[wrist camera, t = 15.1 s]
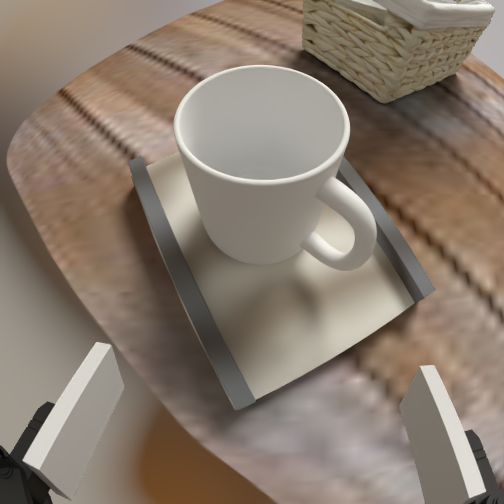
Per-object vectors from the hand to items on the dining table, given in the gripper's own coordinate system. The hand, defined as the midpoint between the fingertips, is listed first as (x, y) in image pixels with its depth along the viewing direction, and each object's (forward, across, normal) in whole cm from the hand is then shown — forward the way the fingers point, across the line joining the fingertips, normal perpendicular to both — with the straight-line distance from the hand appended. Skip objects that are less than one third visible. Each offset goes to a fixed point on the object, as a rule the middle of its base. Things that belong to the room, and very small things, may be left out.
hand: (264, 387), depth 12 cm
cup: (+13, 0, -2) cm, 13 cm away
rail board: (+14, 0, -1) cm, 14 cm away
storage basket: (+34, -15, -21) cm, 43 cm away
